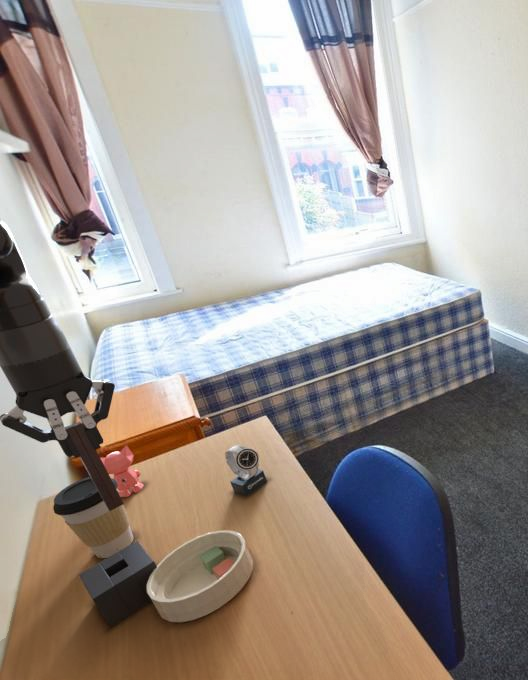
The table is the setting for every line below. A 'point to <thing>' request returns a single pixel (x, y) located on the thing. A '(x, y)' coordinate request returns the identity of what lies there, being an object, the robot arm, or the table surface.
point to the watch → (245, 469)
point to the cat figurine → (123, 471)
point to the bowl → (198, 577)
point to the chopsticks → (94, 466)
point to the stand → (120, 582)
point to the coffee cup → (93, 518)
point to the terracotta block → (222, 568)
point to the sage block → (212, 558)
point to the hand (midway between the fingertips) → (87, 451)
